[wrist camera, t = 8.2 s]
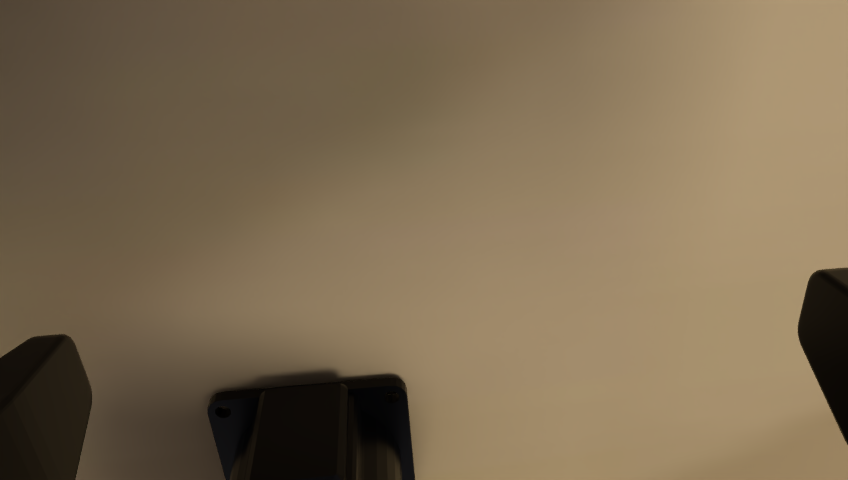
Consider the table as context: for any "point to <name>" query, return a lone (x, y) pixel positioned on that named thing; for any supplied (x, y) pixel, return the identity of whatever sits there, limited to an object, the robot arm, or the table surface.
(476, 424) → the table surface
